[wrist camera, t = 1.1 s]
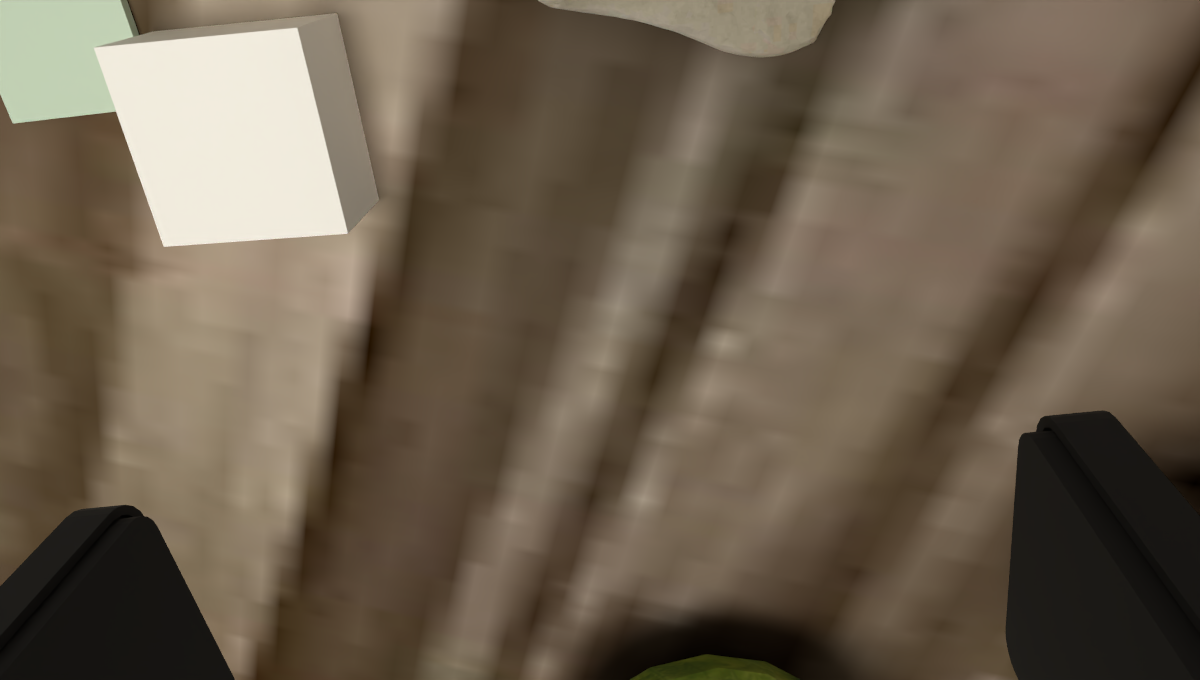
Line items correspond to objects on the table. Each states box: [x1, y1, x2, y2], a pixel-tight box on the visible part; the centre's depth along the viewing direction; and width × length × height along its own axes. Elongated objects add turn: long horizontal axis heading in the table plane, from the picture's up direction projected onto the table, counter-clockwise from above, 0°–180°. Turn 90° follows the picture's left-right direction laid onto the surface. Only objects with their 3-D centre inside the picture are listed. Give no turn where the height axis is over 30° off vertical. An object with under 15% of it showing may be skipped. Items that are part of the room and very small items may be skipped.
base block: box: [94, 13, 379, 247], centre depth 31 cm, size 7×7×4 cm
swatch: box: [0, 0, 139, 123], centre depth 31 cm, size 6×6×1 cm
